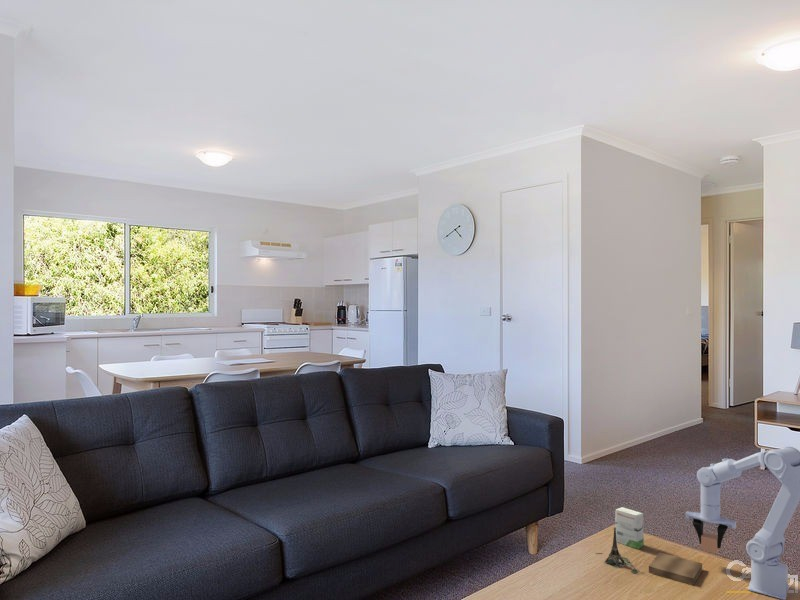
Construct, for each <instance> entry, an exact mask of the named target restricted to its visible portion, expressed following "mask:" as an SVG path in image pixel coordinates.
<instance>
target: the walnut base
mask: <svg viewBox="0 0 800 600" xmlns="http://www.w3.org/2000/svg"><path fill="white" fill-rule="evenodd" d="M702 571H703V563H702V562H699V561H695V560H691V559H687V558H682V557H680V556H677V555H671V554H668V553H663V552H660V551H659V552H658V553H657V555H656V556H655V557H654V558H653V560H652V561H651V563H650V564H649V566H648V573H650V574H652V573H653V574H652V575H657V576H660V577H663V576H664V577H663V578H667V579H671V580H674V581H678V582H681V583H684V584H689V585H692V586H694V585H695V583H696V581H697V579H698V578H699V576H700V574H701V572H702Z"/></svg>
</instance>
